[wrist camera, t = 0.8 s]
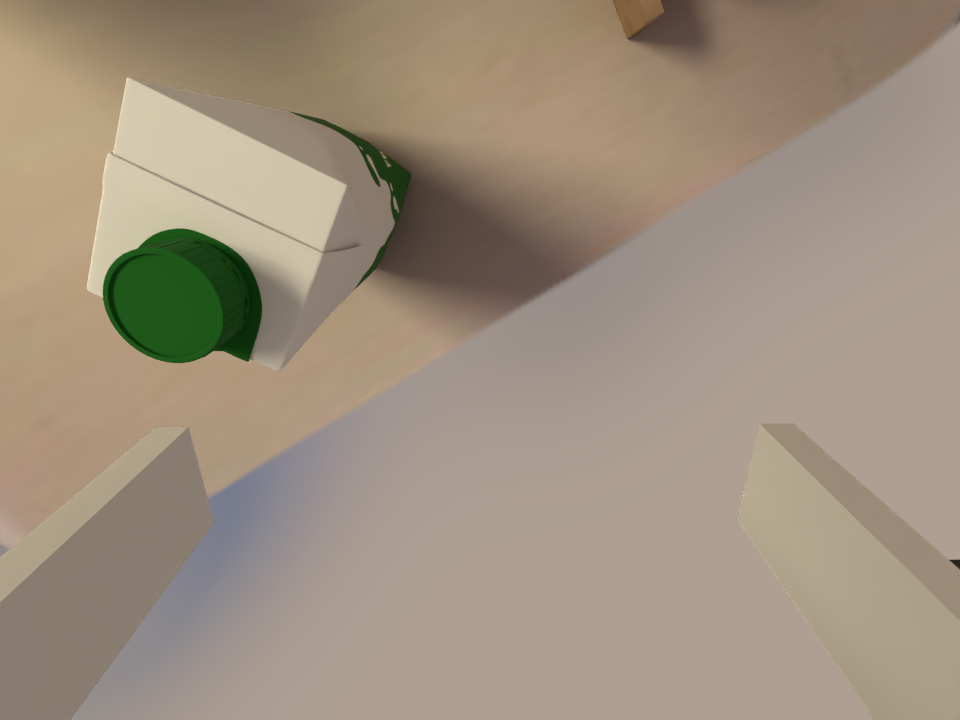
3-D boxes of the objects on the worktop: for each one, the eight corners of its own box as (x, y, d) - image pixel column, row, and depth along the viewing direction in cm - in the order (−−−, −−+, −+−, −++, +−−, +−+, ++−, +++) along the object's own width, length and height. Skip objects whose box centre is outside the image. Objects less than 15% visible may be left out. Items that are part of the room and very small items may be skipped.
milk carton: (265, 231, 35) (15, 313, 17) (305, 101, 32) (54, 24, 13) (381, 284, 36) (269, 416, 18) (430, 165, 33) (358, 175, 15)
